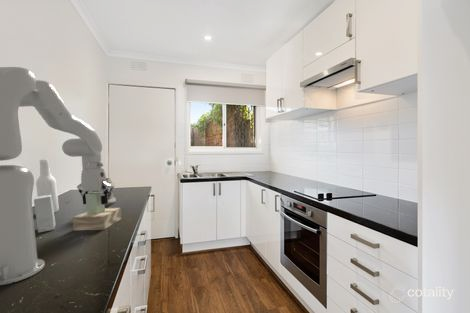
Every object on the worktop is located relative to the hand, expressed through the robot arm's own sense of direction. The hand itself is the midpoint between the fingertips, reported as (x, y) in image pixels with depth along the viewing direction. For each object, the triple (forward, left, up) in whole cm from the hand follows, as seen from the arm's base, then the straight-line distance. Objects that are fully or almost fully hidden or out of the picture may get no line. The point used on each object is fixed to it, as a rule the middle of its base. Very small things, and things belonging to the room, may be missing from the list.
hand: (95, 203), depth 110 cm
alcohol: (+16, +45, -10) cm, 49 cm away
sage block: (0, 0, -4) cm, 4 cm away
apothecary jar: (+19, +12, -10) cm, 25 cm away
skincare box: (-7, +20, -10) cm, 23 cm away
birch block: (0, 0, -10) cm, 10 cm away
